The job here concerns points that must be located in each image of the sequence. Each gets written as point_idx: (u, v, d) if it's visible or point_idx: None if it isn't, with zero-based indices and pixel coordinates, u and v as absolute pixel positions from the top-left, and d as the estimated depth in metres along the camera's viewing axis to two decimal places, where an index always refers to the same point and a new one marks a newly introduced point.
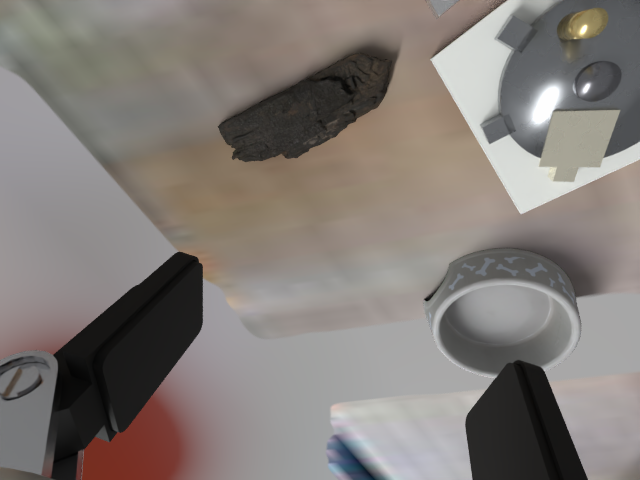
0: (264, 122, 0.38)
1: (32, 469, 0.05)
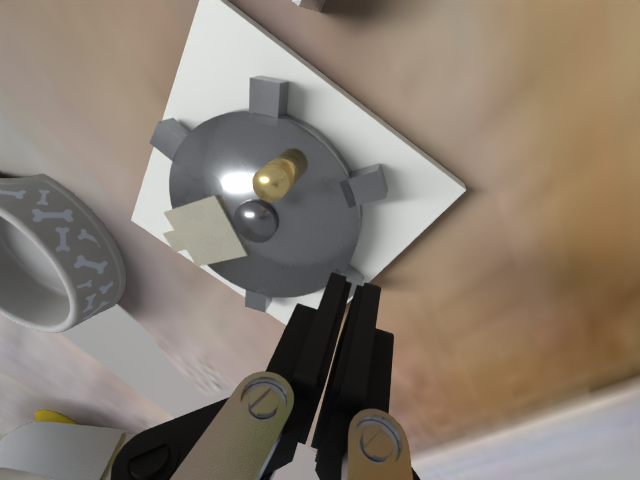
0: None
1: None
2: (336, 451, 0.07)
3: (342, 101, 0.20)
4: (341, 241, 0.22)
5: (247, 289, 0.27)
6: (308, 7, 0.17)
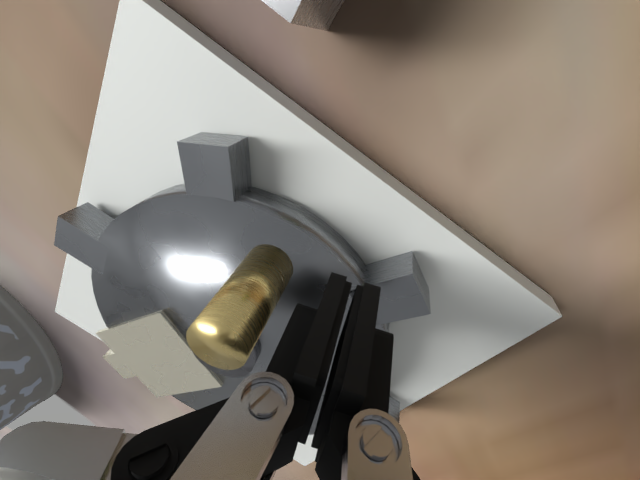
0: None
1: None
2: (336, 451, 0.07)
3: (364, 177, 0.12)
4: None
5: None
6: (308, 24, 0.09)
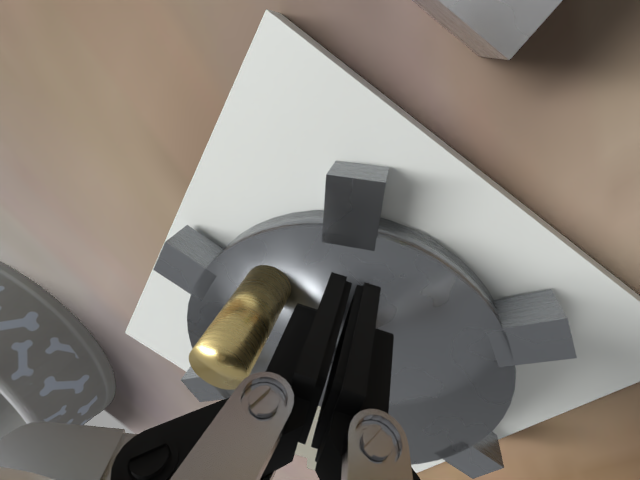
0: None
1: None
2: (336, 451, 0.07)
3: (505, 209, 0.11)
4: (433, 293, 0.11)
5: (443, 455, 0.15)
6: None
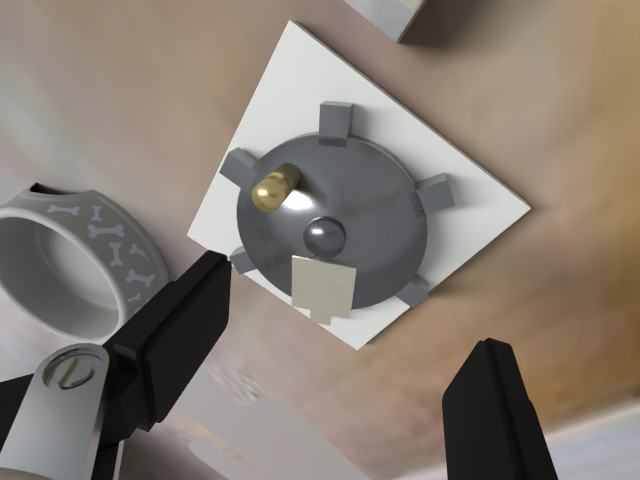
0: None
1: (77, 462, 0.05)
2: None
3: (416, 125, 0.21)
4: (378, 172, 0.21)
5: (394, 292, 0.25)
6: (397, 41, 0.18)
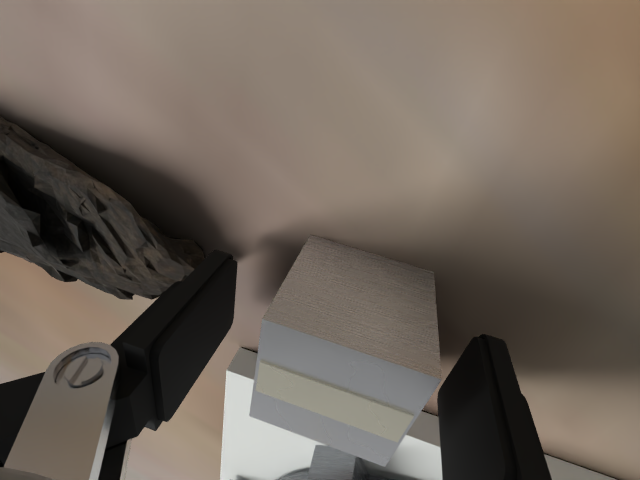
0: None
1: (84, 462, 0.05)
2: None
3: None
4: None
5: None
6: None
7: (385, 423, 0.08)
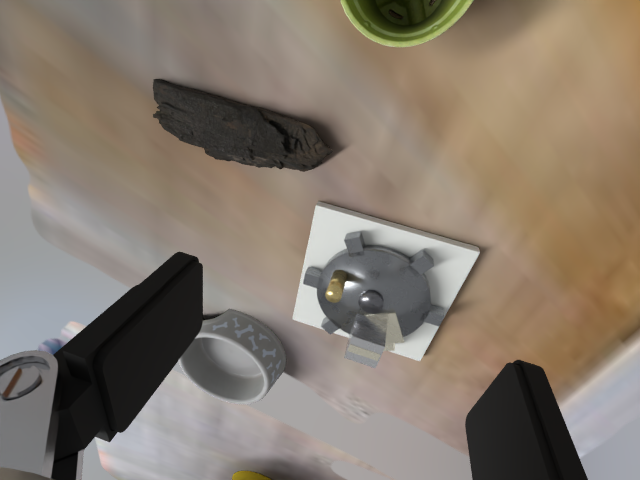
0: (201, 114, 0.36)
1: (32, 469, 0.05)
2: None
3: (397, 231, 0.38)
4: (386, 261, 0.38)
5: (423, 320, 0.41)
6: None
7: (375, 356, 0.40)
